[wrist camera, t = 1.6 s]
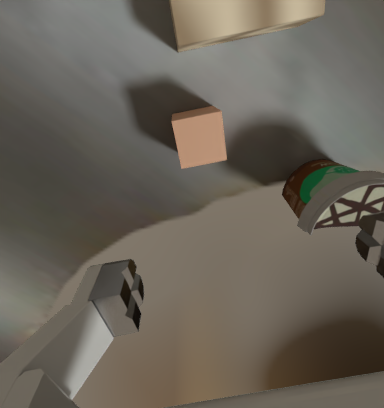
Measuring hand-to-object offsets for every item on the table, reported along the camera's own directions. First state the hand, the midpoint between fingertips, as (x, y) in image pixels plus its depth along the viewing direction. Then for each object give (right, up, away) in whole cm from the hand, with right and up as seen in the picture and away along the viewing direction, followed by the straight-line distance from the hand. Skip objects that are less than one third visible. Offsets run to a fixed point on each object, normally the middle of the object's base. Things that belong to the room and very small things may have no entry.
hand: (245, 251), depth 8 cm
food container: (+16, +6, +24) cm, 30 cm away
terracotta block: (-1, +11, +21) cm, 23 cm away
